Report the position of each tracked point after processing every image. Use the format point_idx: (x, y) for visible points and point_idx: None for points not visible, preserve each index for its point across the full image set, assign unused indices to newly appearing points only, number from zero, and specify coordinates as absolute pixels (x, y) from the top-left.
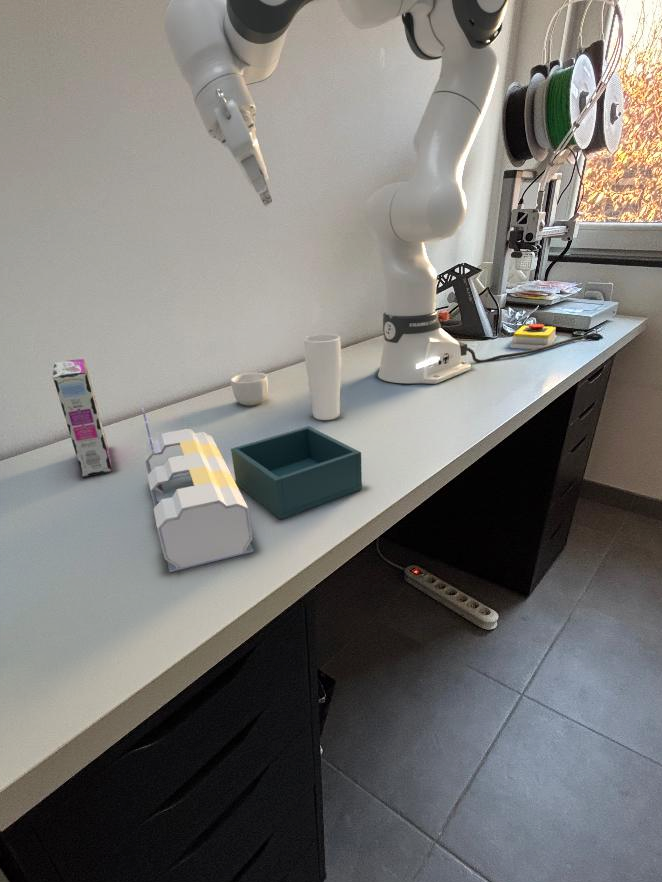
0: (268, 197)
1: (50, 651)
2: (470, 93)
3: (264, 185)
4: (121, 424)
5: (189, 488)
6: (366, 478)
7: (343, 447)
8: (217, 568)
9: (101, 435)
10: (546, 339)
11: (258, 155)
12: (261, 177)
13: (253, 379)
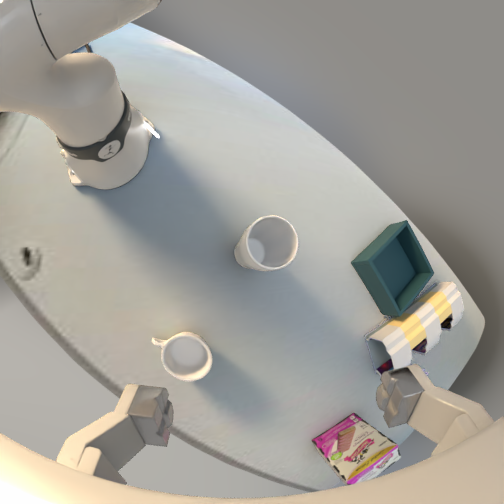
0: (159, 407)
1: (464, 338)
2: None
3: (418, 367)
4: (249, 458)
5: (453, 313)
6: (377, 220)
7: (400, 231)
8: None
9: (369, 424)
10: None
11: (453, 455)
12: (432, 386)
13: (166, 354)
